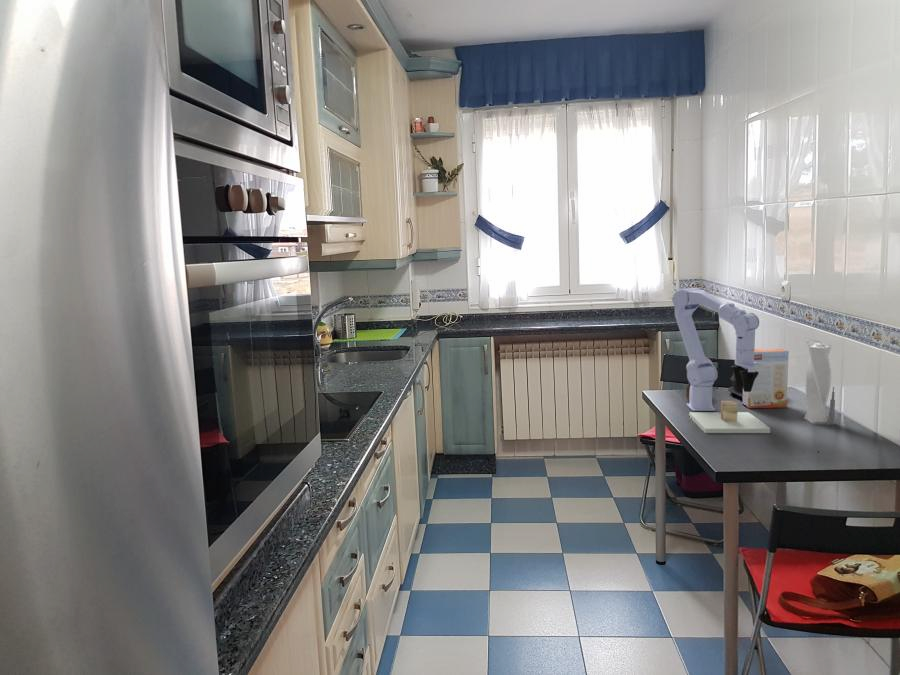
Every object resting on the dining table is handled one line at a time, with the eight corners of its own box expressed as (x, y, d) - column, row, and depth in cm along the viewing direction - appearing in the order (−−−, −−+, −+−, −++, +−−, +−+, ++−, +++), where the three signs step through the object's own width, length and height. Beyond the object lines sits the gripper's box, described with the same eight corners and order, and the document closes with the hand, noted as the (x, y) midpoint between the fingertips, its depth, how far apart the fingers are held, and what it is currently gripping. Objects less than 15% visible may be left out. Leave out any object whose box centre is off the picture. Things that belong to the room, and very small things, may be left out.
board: (689, 416, 241) (689, 412, 241) (748, 416, 239) (748, 412, 239) (705, 433, 221) (705, 428, 221) (770, 433, 220) (770, 428, 219)
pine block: (720, 418, 232) (721, 401, 231) (733, 418, 232) (733, 400, 231) (724, 421, 228) (724, 403, 227) (736, 421, 228) (737, 403, 227)
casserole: (725, 387, 284) (726, 367, 282) (775, 389, 278) (776, 369, 276) (729, 402, 260) (730, 380, 259) (784, 404, 254) (785, 382, 253)
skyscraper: (809, 425, 228) (814, 341, 224) (798, 419, 236) (802, 337, 232) (835, 425, 228) (840, 340, 223) (823, 418, 236) (827, 337, 231)
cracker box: (779, 403, 255) (782, 347, 252) (787, 408, 249) (790, 350, 246) (741, 404, 255) (743, 348, 252) (747, 408, 249) (750, 351, 246)
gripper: (765, 353, 226) (763, 393, 228) (750, 345, 240) (748, 384, 242) (742, 353, 226) (741, 393, 228) (729, 346, 240) (727, 384, 243)
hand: (743, 389), depth 235 cm, fingers open, 7 cm apart
